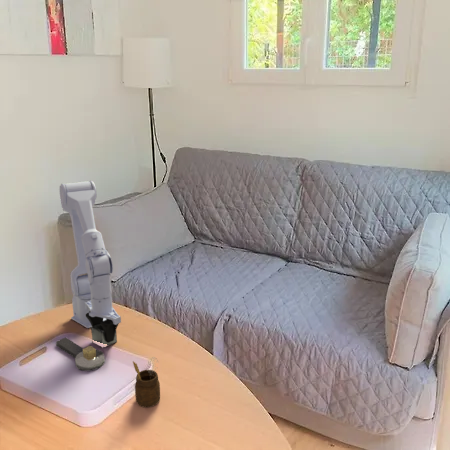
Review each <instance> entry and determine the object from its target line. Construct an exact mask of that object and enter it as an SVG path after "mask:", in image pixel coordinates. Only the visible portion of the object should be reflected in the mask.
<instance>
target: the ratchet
mask: <svg viewBox="0 0 450 450" xmlns="http://www.w3.org/2000/svg"><path fill="white" fill-rule="evenodd" d="M55 345H56V347H57V348H59V349H60V350H62V351H64V352H65V353H67V354H68V355H69V356H71V357H72V358H73V359H74V360H75V367H76V368H77V369H78V370H80V371H85V372H86V371H87V372H88V371H89V372H91V371H95V370H97V369H99V368H101V367H102V366H104V364H105V353H104V352H103V351H102V350H101V349H96V348H95V347H94V346H92V345H88V346H86V347H84V348H83V347H82V346H80V345H79V344H77V343H76V342H74V341H72V340H71V339H69V338H68V337H64V338H61V339H59V340H56V341H55Z"/></svg>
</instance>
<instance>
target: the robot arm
mask: <svg viewBox="0 0 450 450" xmlns="http://www.w3.org/2000/svg"><path fill="white" fill-rule="evenodd" d="M59 196H60V197H59V198H60V205H61V208H62V210H63V212H66V213H68V214H69V217H70V222H71V228H72V235H73V240H74V245H75V253H76V259H77V265H76V266H75V267H74V268H73V269H72V271H71V272H70V274H69V275H70V289H71V293H72V295H73V296H72V299H71V304H72V314H73V315H72V316H71V320H72V321H75V322H76V323H78V324H80V325H81V326H83V327H85V328H86V329H89V328H91V327H93V326H95V325H97V324H101V326H102V327H103V330H104V333H105V339H106V342H107V343H109V342H111V341H113V340H114V336H115V332H116V333H117V328H118V326H119V324H120V323H122V317H121V315H119V314H118V312H117V311H116V309H115V308H114V307H113V297H112V296H113V295H112V280H111V274H113V271H114V267H113V260H112V257H111V255H110V253H109V250H108V249H107V250H106V246H105V242H104V238H103V233H102V232H100V231H99V230H97V226H96V221H95V216H94V215H95V214H94V210H93V209H94V208H93V207H94V205H95V204H96V200H97V188H96V184H95V182H94V181H93V180H87V181H79V182H69V183H67V182H66V183H63V182H62V183H61V184H60V185H59Z"/></svg>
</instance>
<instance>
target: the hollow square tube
mask: <svg viewBox="0 0 450 450" xmlns="http://www.w3.org/2000/svg"><path fill="white" fill-rule="evenodd" d="M90 328H91V341H92V340H94V341H97V342H100V343H103V344H107V345H109V346H111V345H113V344H115V343H117V342H118V338H117V331H116V332H115V336H114V340H113V341H111V342H109V343H107V342H106V339H105V333H104V330H103V327H102V326H101V324H97V325H95V326H93V327H90Z"/></svg>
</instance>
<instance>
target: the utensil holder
mask: <svg viewBox="0 0 450 450" xmlns="http://www.w3.org/2000/svg"><path fill="white" fill-rule="evenodd" d="M155 360H156V362H159V360H158V358H156V357H154V356H153V357H151V358H150V360H149V362H148V364H147V365H151V361H155ZM132 365H133V368H134V370H135V372H136V373H137V374H136V378H135V384H134V392H135V395H134V396H135V402H136V404H137V405H138V406H139V407H142V408H150V407H154V406H156V405H157V404H158V403H159V402H160V400H161V384H160V381H159V375H158V373H157V368H155V370H154V369H144V370H140V369H139V366H138V363H136V362H135V361H134V360H133V361H132ZM151 366H152V367H155V364H152V365H151Z"/></svg>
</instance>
